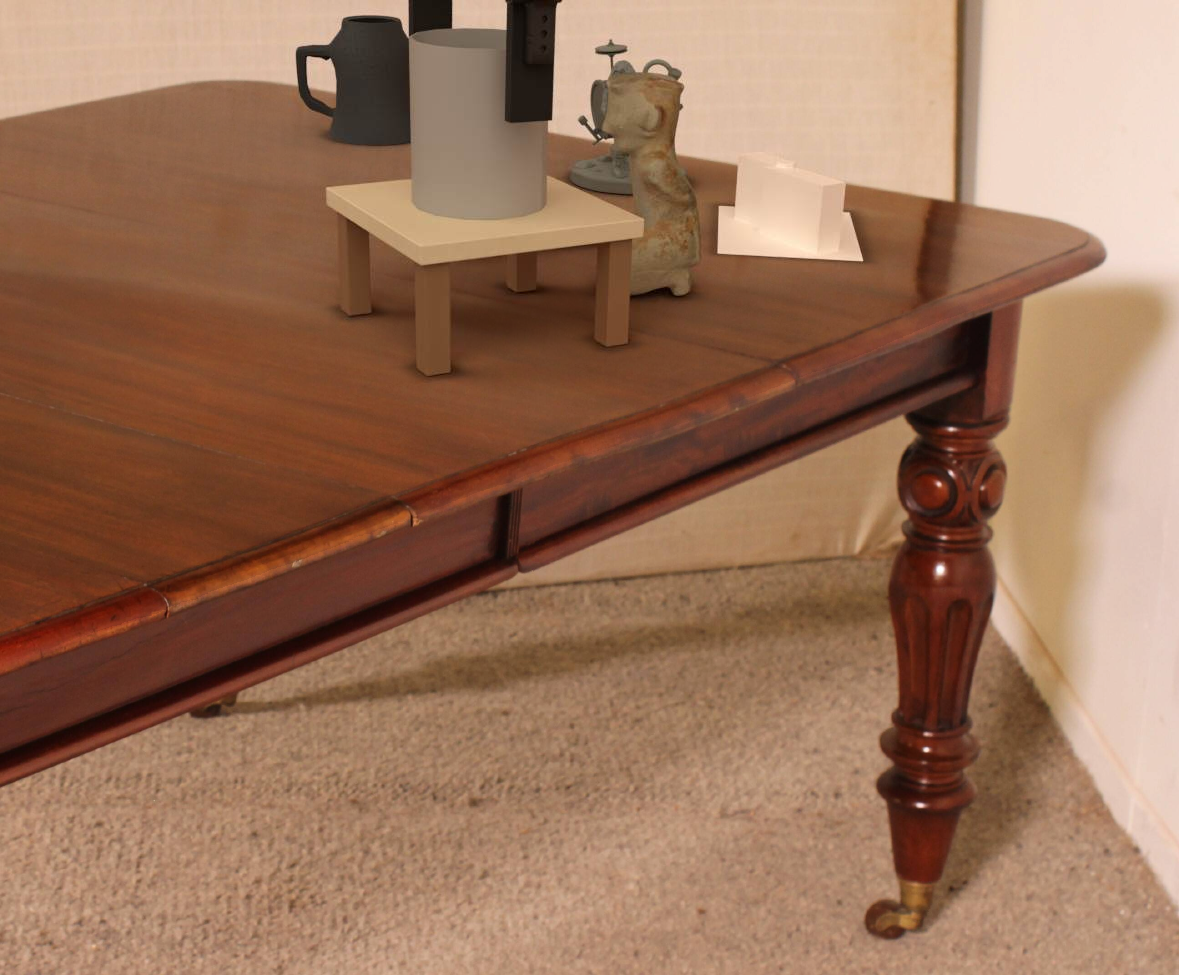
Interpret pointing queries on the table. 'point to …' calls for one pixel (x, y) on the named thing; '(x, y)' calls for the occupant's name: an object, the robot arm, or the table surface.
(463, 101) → the cup
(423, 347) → the side table
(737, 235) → the napkin holder
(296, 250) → the table surface
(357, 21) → the mug
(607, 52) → the figurine
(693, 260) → the sculpture
